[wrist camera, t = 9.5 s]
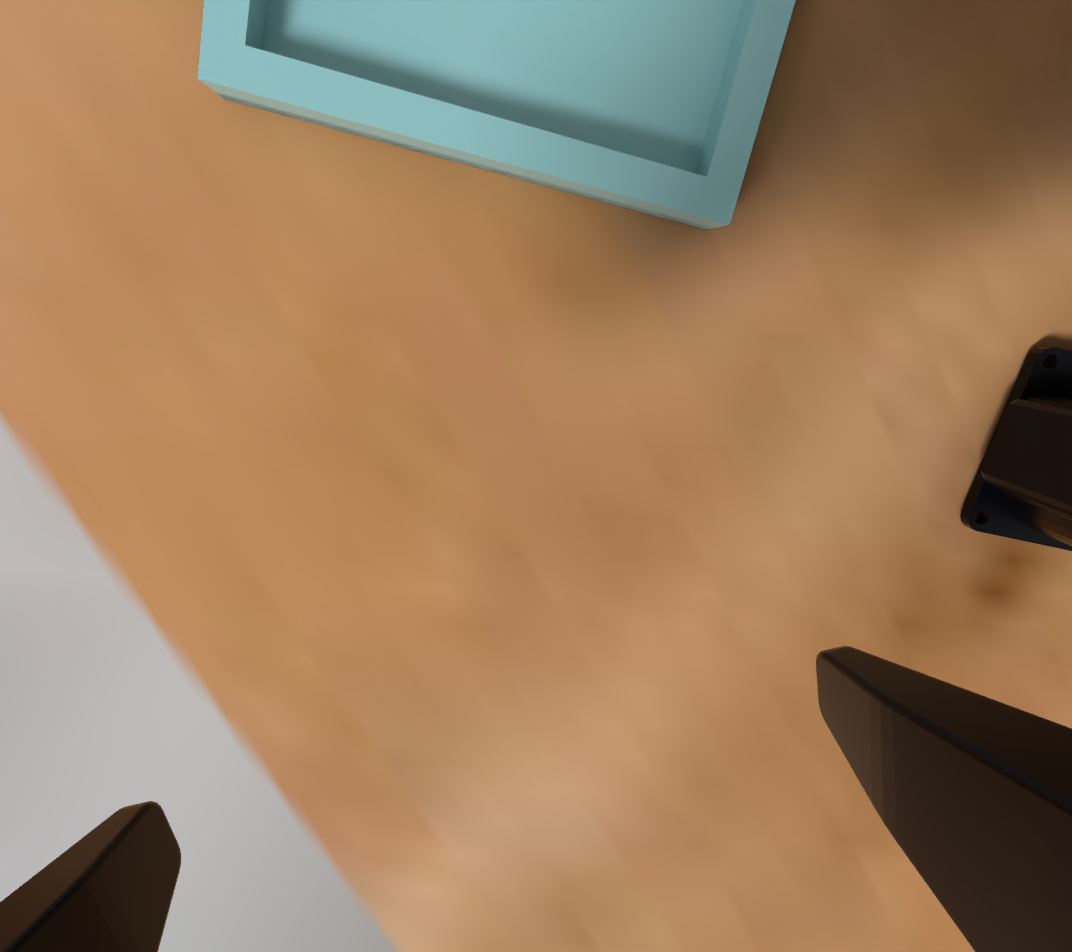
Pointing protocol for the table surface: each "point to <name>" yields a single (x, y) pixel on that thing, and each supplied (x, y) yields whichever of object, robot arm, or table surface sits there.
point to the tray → (523, 86)
